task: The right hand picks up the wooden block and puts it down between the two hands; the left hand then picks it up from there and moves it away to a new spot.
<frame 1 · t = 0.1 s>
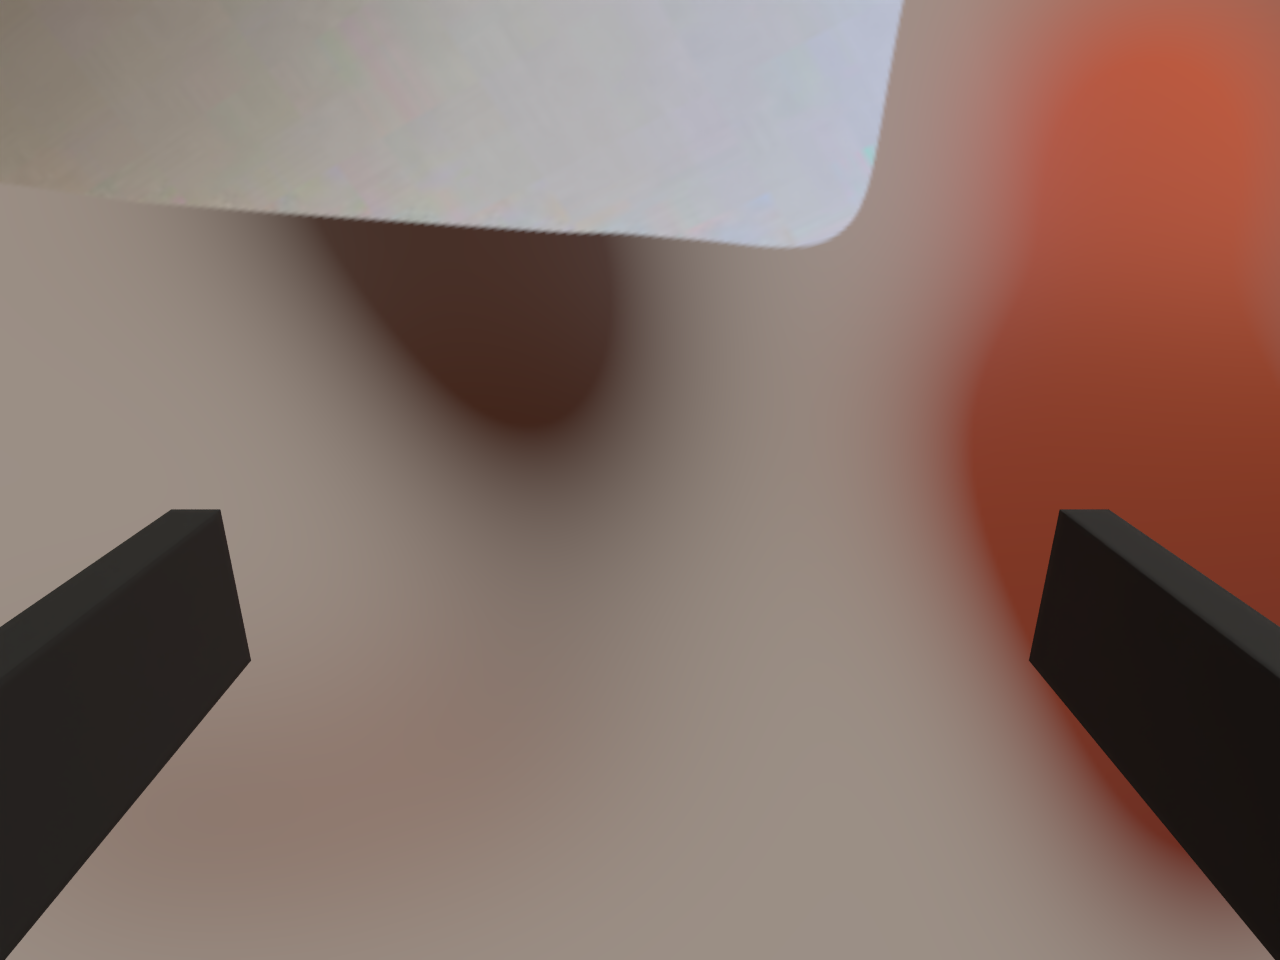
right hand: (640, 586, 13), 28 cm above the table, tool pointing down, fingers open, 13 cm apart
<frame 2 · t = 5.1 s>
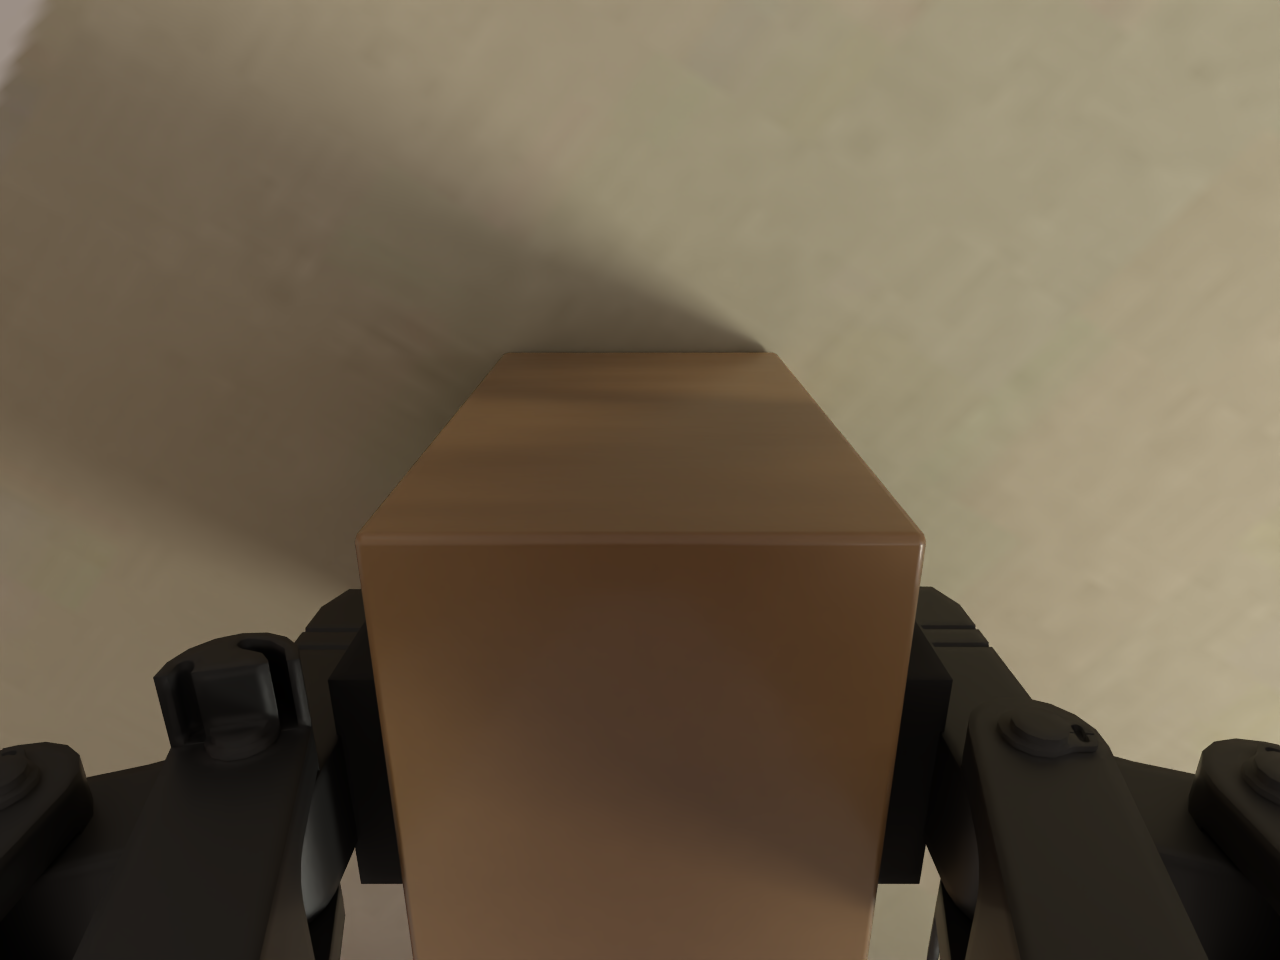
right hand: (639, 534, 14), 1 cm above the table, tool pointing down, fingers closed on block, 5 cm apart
block: (640, 523, 15), on the table, touching right hand
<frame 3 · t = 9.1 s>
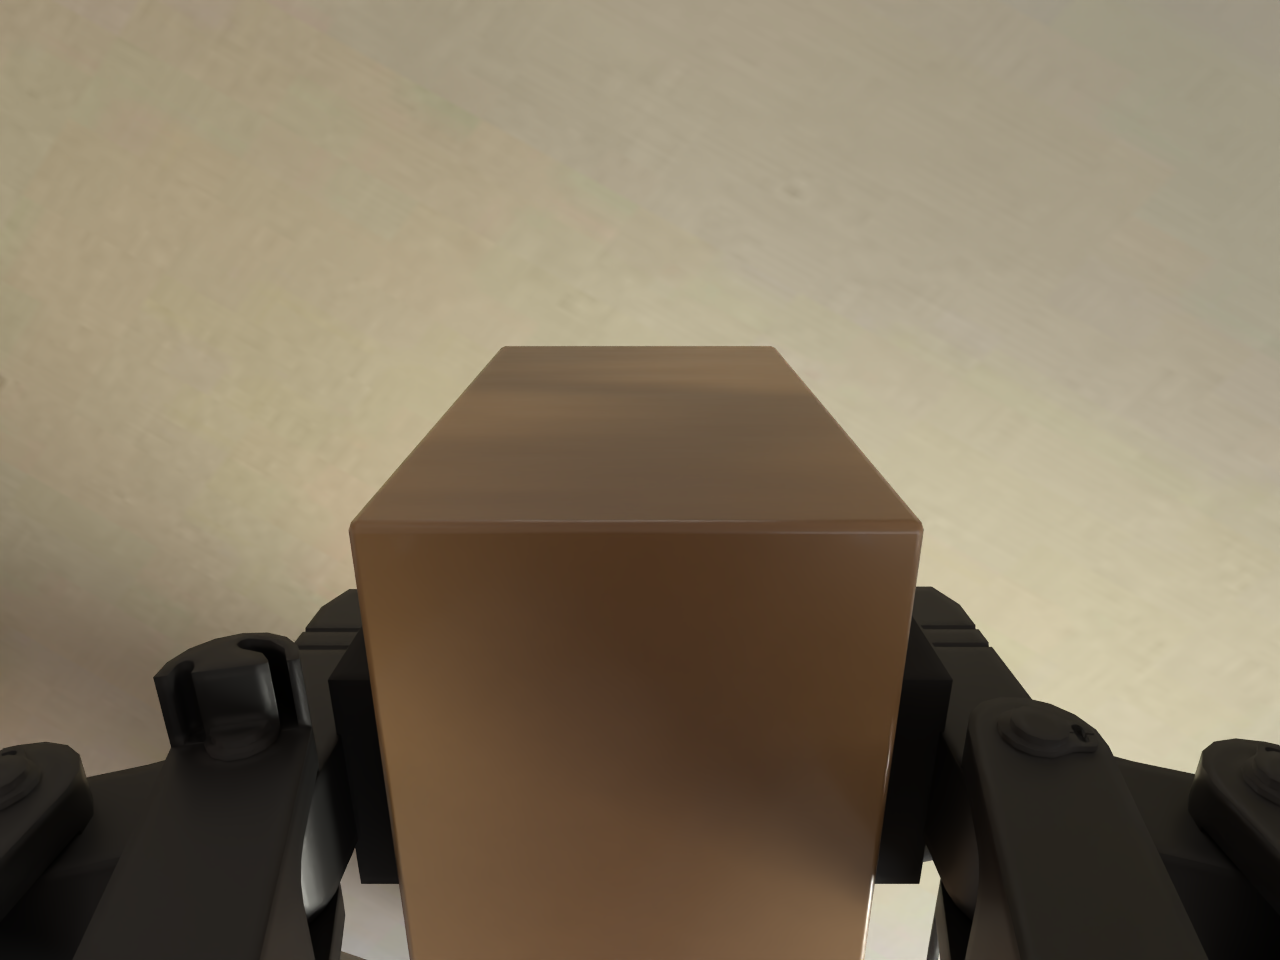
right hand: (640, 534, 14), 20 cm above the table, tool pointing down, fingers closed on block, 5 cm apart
block: (638, 518, 15), point 20 cm above the table, touching right hand
when the right hand's fingers open (2 cm above the table, at t = 13.1 s): block drops 2 cm, on the table.
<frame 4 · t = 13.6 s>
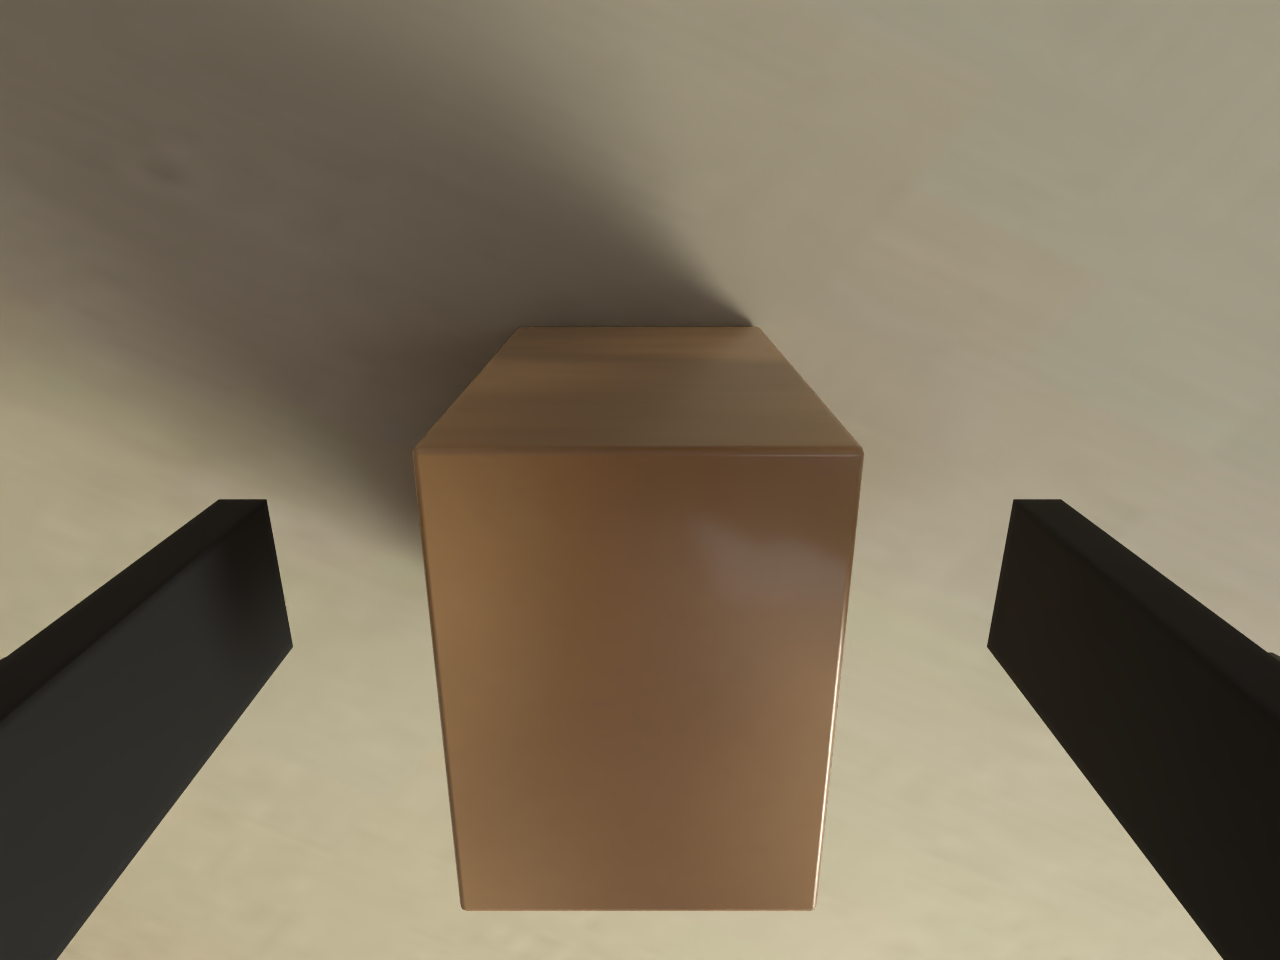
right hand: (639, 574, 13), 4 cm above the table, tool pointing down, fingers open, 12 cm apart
block: (638, 481, 17), on the table
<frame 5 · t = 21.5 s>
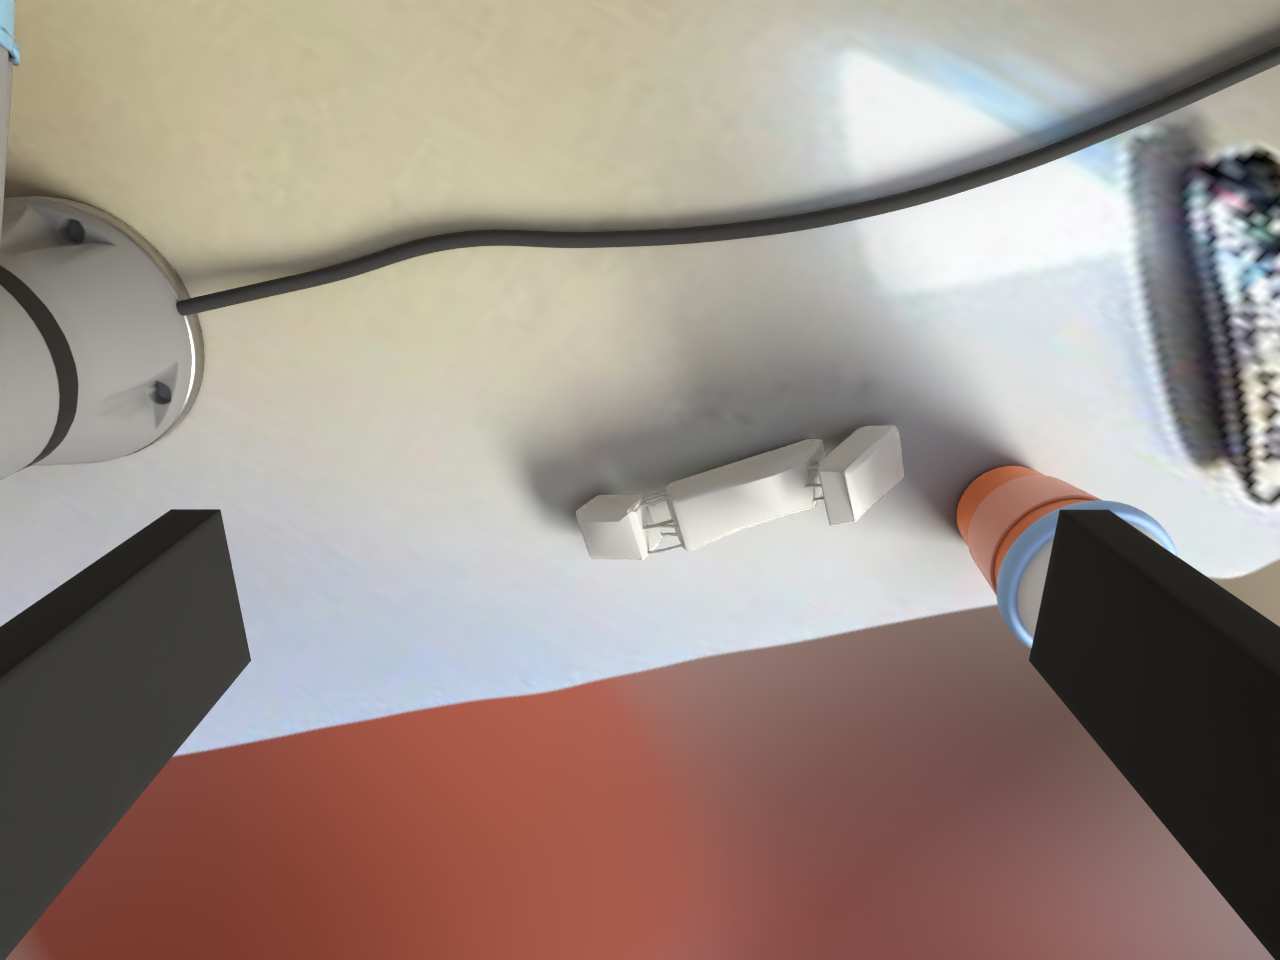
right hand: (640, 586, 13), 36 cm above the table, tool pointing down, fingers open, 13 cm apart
cup with straw: (1002, 508, 51), on the table
clamp: (735, 481, 50), on the table
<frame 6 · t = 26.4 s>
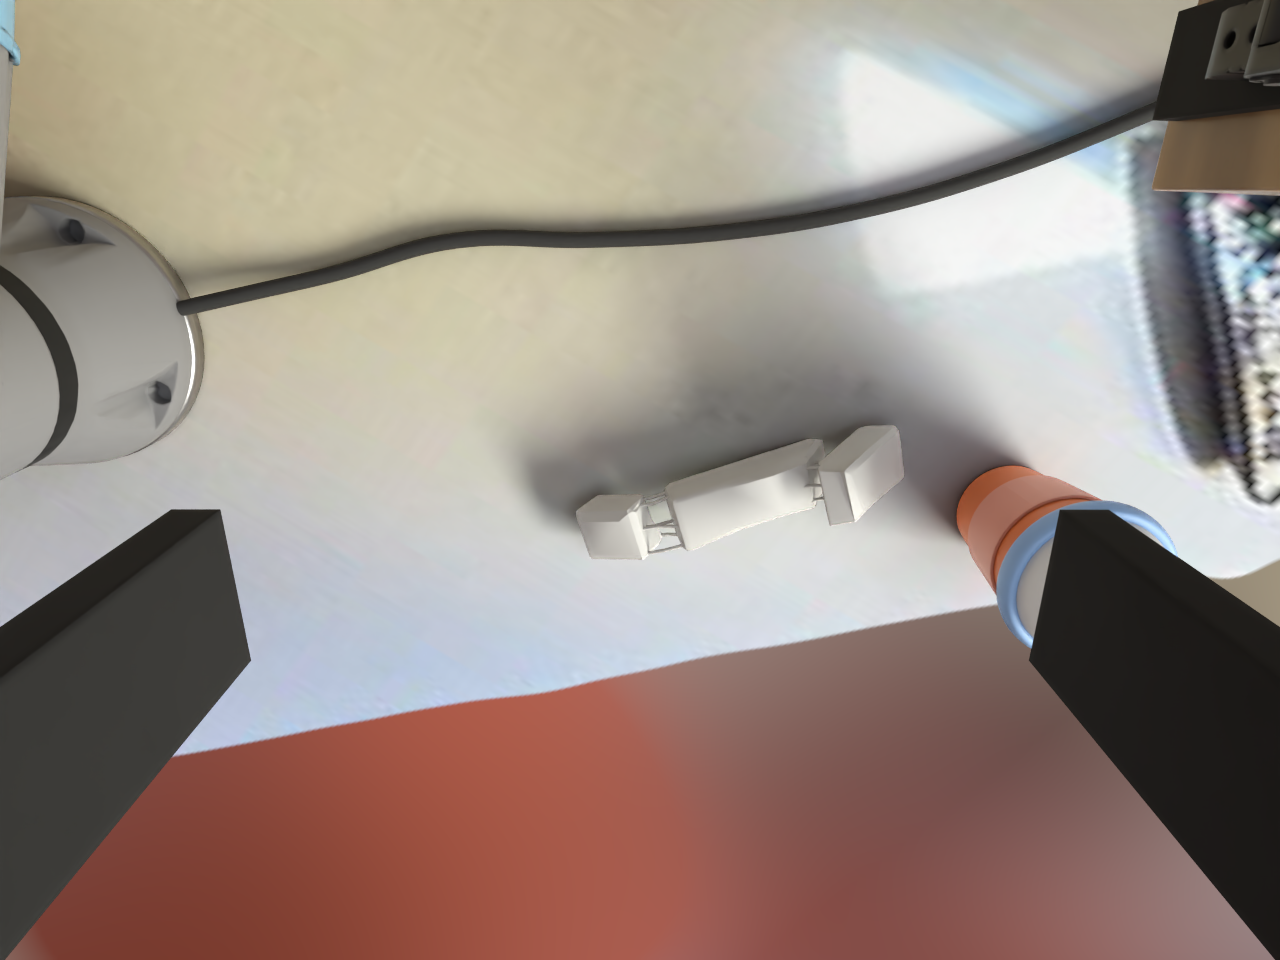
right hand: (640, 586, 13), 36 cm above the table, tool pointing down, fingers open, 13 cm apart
block: (1264, 70, 22), point 22 cm above the table, touching left hand
cup with straw: (1002, 508, 51), on the table
clamp: (735, 481, 50), on the table
when the left hand's fingers open (2 cm above the table, at t = 31.7 s): block drops 2 cm, on the table.
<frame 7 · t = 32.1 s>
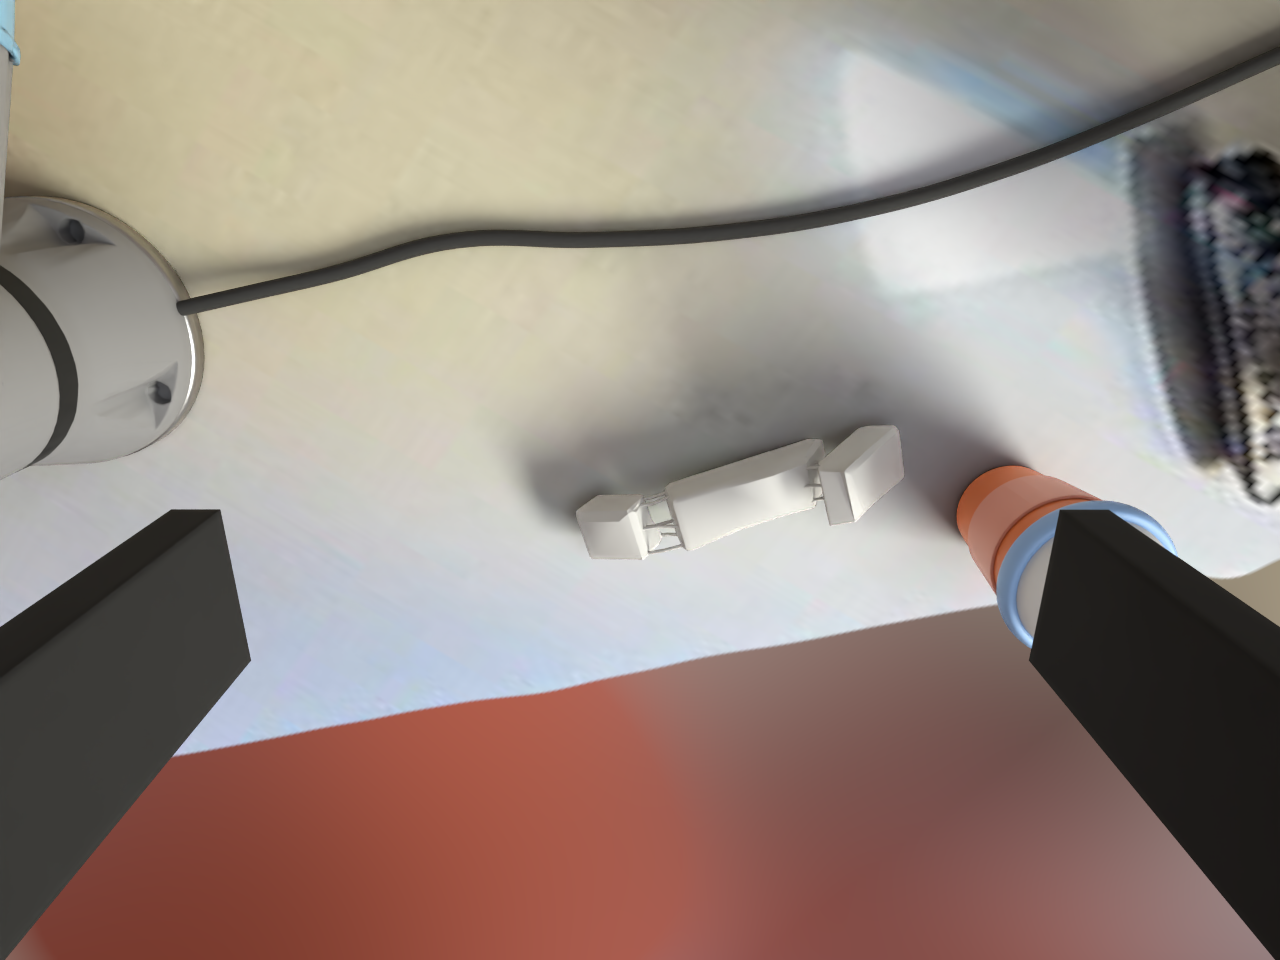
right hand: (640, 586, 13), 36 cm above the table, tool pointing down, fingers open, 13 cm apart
cup with straw: (1002, 508, 51), on the table
clamp: (735, 481, 50), on the table
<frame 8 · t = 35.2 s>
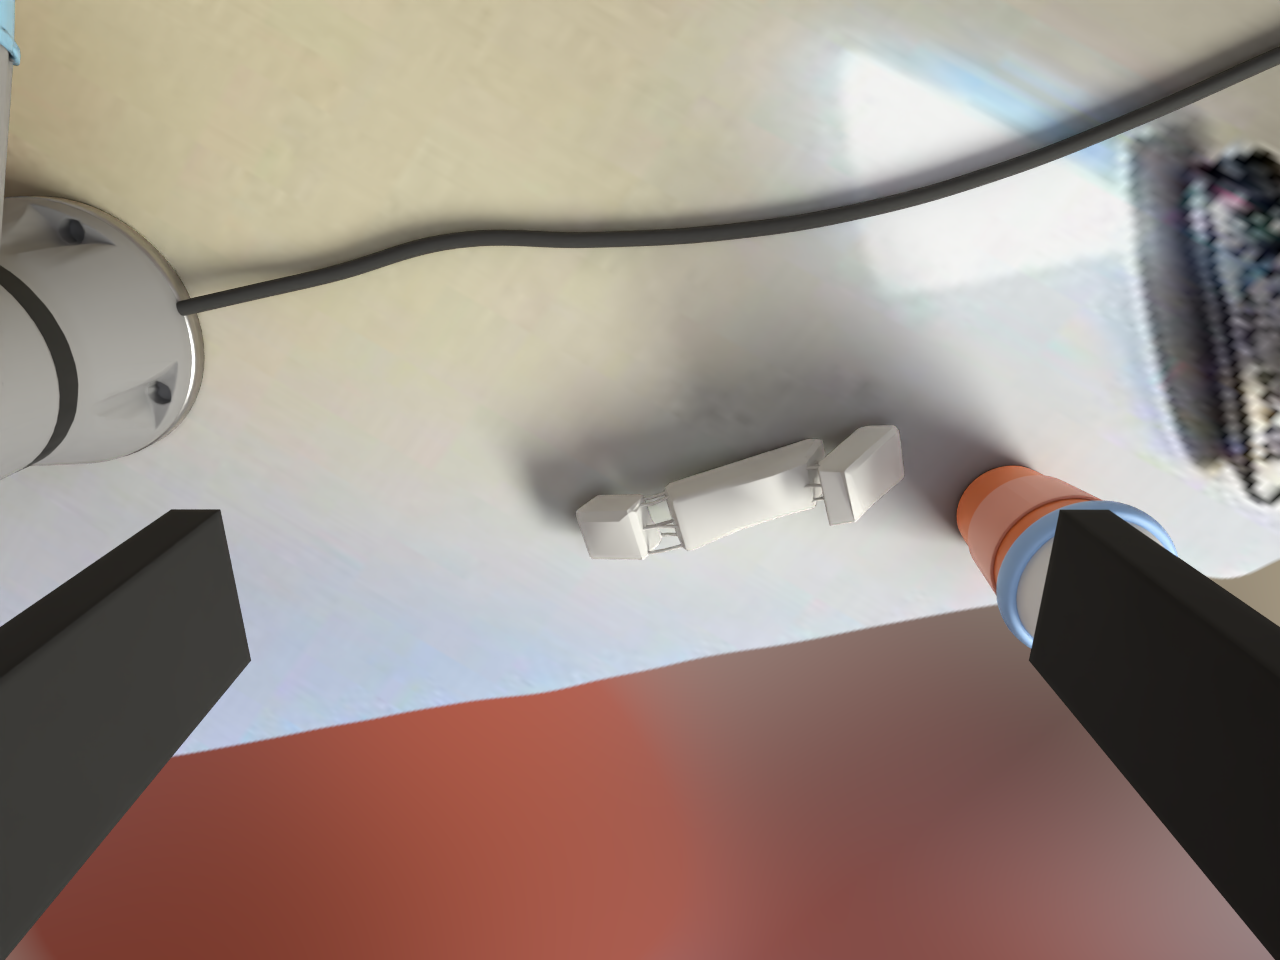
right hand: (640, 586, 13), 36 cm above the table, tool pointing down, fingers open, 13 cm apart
cup with straw: (1002, 508, 51), on the table
clamp: (735, 481, 50), on the table
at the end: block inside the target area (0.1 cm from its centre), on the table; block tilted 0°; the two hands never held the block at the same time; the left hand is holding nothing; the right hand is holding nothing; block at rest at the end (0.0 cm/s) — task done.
